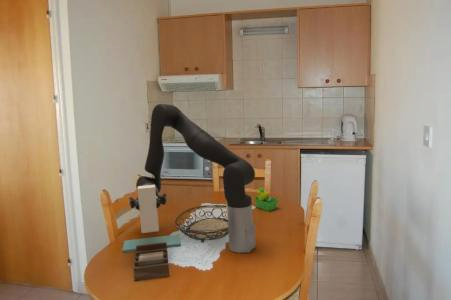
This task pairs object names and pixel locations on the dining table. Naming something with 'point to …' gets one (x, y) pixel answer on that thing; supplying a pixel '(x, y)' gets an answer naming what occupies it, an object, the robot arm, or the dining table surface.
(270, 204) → the fruit basket
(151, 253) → the offcut short
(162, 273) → the rack
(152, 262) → the offcut tall
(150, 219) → the beige tall block
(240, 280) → the dining table surface
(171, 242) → the board
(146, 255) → the offcut mid
